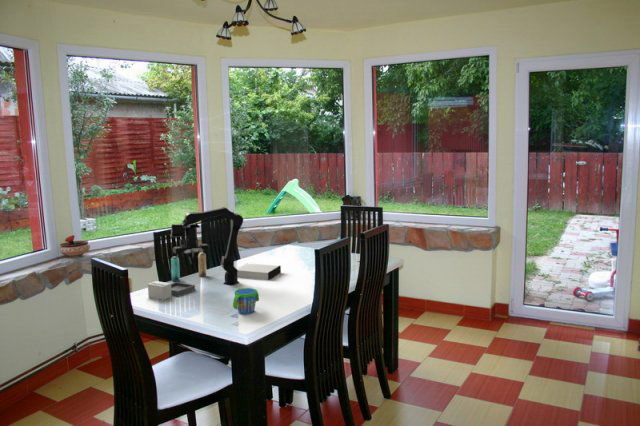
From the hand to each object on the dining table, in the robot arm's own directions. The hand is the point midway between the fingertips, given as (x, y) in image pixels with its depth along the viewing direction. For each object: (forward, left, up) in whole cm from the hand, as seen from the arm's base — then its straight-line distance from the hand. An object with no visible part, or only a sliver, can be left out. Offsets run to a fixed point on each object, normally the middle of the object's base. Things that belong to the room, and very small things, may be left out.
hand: (192, 264), depth 279 cm
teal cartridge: (+18, -6, -13) cm, 23 cm away
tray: (+2, +10, -13) cm, 16 cm away
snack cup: (-50, +20, -13) cm, 55 cm away
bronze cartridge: (+11, -21, -13) cm, 27 cm away
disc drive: (-17, -38, -14) cm, 44 cm away
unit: (+3, +21, -13) cm, 25 cm away
